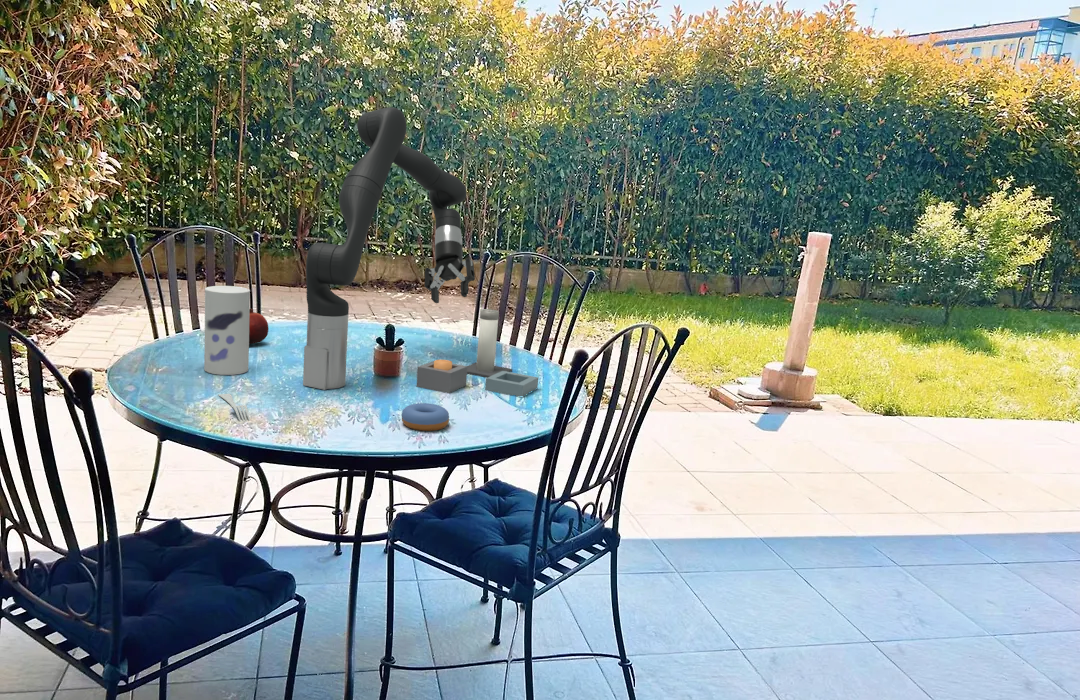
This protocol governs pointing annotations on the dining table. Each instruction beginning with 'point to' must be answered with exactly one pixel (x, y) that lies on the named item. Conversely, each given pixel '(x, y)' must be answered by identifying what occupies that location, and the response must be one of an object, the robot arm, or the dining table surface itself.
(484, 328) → the cylinder
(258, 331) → the fruit
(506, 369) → the mat
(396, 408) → the dining table surface
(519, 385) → the housing
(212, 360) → the container
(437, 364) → the plunger
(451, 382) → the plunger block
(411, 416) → the doughnut
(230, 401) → the fork
